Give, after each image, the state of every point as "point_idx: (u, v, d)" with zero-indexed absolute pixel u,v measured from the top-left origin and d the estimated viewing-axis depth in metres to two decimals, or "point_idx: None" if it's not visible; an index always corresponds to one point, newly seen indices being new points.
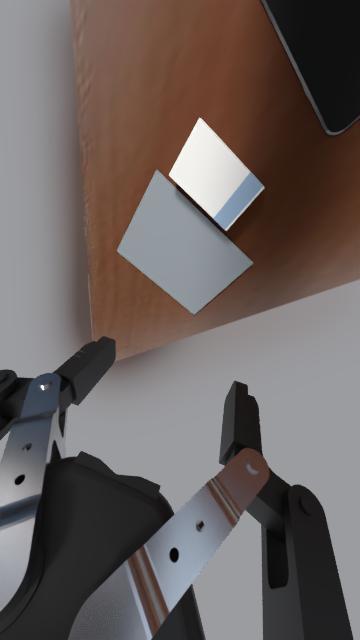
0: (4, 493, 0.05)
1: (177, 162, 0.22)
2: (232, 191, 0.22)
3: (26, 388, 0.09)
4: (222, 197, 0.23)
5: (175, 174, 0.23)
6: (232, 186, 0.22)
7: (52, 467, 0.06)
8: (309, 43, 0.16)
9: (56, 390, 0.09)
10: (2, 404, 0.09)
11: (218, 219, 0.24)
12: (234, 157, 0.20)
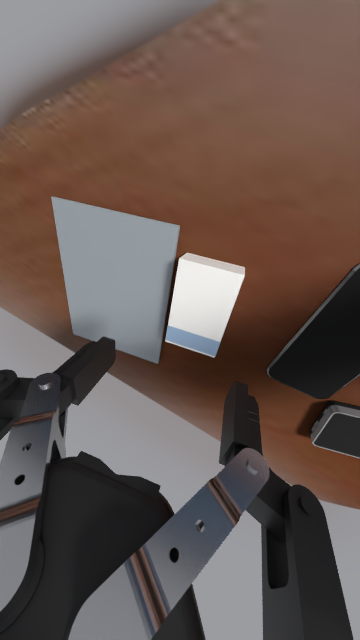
0: (4, 493, 0.05)
1: (196, 265, 0.17)
2: (198, 334, 0.20)
3: (26, 388, 0.09)
4: (189, 326, 0.20)
5: (184, 267, 0.17)
6: (203, 331, 0.20)
7: (52, 467, 0.06)
8: (317, 333, 0.19)
9: (56, 390, 0.09)
10: (2, 404, 0.09)
11: (170, 330, 0.21)
12: (225, 324, 0.19)
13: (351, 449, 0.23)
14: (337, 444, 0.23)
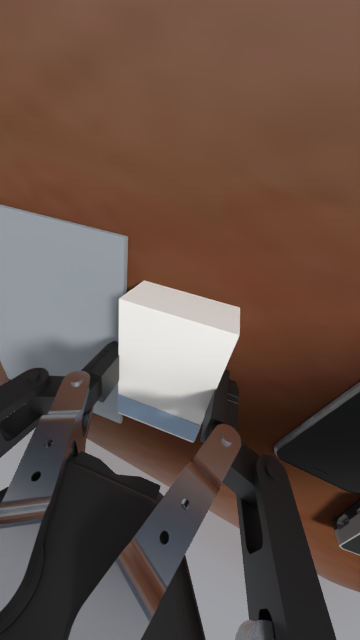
0: (20, 487, 0.05)
1: (149, 311, 0.09)
2: (166, 411, 0.12)
3: (57, 385, 0.09)
4: (151, 399, 0.12)
5: (129, 313, 0.09)
6: (172, 409, 0.12)
7: None
8: (359, 414, 0.12)
9: (87, 387, 0.09)
10: (36, 401, 0.09)
11: (122, 401, 0.13)
12: (207, 403, 0.11)
13: None
14: None
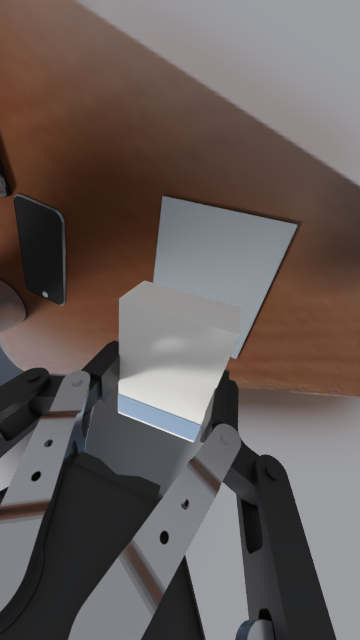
0: (20, 487, 0.05)
1: (149, 311, 0.09)
2: (166, 410, 0.13)
3: (57, 385, 0.09)
4: (151, 399, 0.12)
5: (129, 313, 0.10)
6: (172, 408, 0.12)
7: None
8: (56, 263, 0.29)
9: (87, 387, 0.09)
10: (36, 401, 0.09)
11: (122, 401, 0.13)
12: (207, 403, 0.11)
13: None
14: None
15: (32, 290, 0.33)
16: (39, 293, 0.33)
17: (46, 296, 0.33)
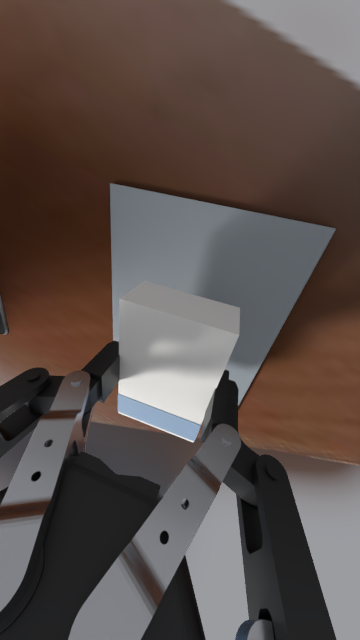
0: (20, 487, 0.05)
1: (149, 311, 0.09)
2: (166, 410, 0.13)
3: (57, 385, 0.09)
4: (151, 399, 0.12)
5: (129, 313, 0.10)
6: (172, 408, 0.12)
7: None
8: None
9: (87, 387, 0.09)
10: (36, 401, 0.09)
11: (122, 401, 0.13)
12: (207, 403, 0.11)
13: None
14: None
15: None
16: None
17: None
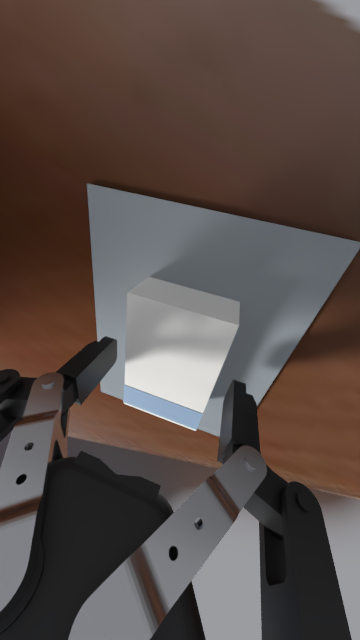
0: (6, 492, 0.05)
1: (155, 304, 0.10)
2: (170, 400, 0.13)
3: (29, 388, 0.09)
4: (156, 389, 0.13)
5: (136, 306, 0.10)
6: (176, 398, 0.13)
7: (52, 467, 0.06)
8: None
9: (59, 390, 0.09)
10: (5, 403, 0.09)
11: (128, 391, 0.14)
12: (209, 391, 0.12)
13: None
14: None
15: None
16: None
17: None
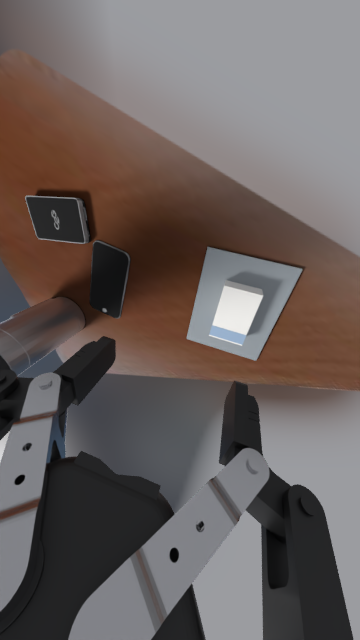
0: (4, 493, 0.05)
1: (234, 289, 0.29)
2: (232, 330, 0.32)
3: (26, 388, 0.09)
4: (226, 325, 0.32)
5: (226, 290, 0.29)
6: (235, 329, 0.32)
7: (52, 467, 0.06)
8: (118, 288, 0.38)
9: (56, 390, 0.09)
10: (2, 404, 0.09)
11: (213, 328, 0.33)
12: (250, 323, 0.31)
13: (59, 205, 0.32)
14: (67, 207, 0.32)
15: (94, 306, 0.43)
16: (99, 309, 0.42)
17: (105, 311, 0.42)
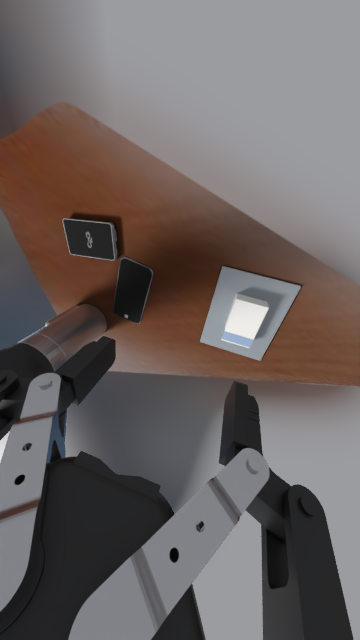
0: (4, 493, 0.05)
1: (244, 302, 0.35)
2: (241, 335, 0.38)
3: (26, 388, 0.09)
4: (237, 331, 0.38)
5: (238, 302, 0.35)
6: (244, 334, 0.38)
7: (52, 467, 0.06)
8: (140, 297, 0.44)
9: (56, 390, 0.09)
10: (2, 404, 0.09)
11: (225, 333, 0.39)
12: (257, 330, 0.37)
13: (93, 228, 0.37)
14: (100, 230, 0.37)
15: (116, 313, 0.48)
16: (121, 315, 0.48)
17: (126, 317, 0.48)
